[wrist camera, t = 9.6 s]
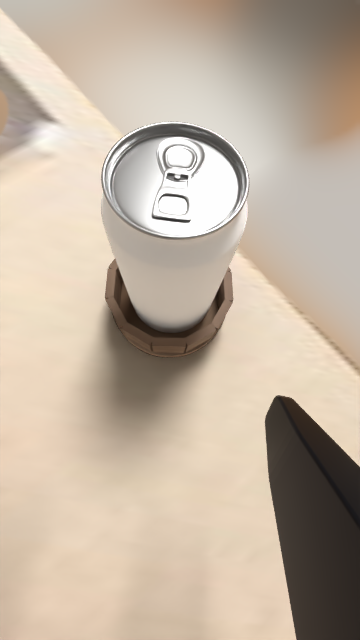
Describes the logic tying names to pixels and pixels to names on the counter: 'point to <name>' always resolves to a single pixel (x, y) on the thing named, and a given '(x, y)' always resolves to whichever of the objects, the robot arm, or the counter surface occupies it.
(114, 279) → the holder
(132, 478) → the counter surface
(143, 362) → the counter surface
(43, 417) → the counter surface
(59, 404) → the counter surface
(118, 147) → the can
